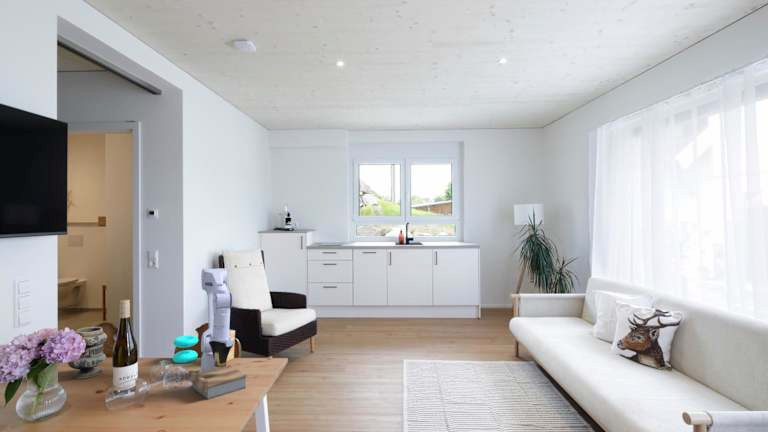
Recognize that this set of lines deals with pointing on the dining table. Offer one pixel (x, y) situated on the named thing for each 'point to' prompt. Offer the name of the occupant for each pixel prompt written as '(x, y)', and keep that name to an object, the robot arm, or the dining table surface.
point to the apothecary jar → (90, 353)
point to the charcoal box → (222, 388)
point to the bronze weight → (216, 361)
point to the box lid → (214, 377)
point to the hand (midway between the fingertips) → (219, 361)
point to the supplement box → (231, 352)
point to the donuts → (186, 354)
